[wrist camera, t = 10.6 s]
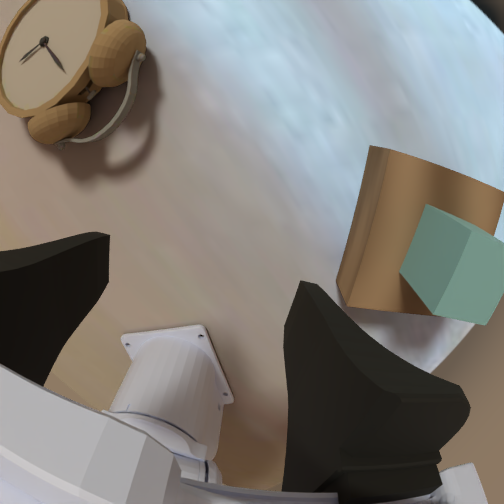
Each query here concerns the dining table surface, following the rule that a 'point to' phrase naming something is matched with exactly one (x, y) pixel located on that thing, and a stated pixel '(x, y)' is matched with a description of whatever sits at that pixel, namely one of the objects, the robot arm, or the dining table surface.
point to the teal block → (455, 267)
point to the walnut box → (403, 225)
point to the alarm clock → (68, 65)
